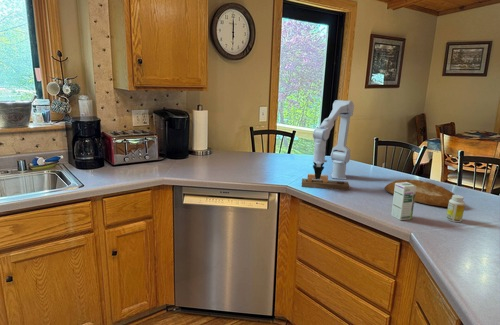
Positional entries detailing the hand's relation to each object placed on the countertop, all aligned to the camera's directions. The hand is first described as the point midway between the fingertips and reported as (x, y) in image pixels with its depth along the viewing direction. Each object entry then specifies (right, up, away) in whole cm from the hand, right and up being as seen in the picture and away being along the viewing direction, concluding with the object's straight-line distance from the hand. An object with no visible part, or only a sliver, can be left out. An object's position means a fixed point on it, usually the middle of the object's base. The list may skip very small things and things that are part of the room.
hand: (317, 177), depth 175 cm
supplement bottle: (+48, -16, -38) cm, 64 cm away
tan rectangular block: (0, -5, +1) cm, 5 cm away
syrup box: (+27, -15, -37) cm, 48 cm away
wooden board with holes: (+4, -5, +1) cm, 6 cm away
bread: (+47, -10, -14) cm, 50 cm away
